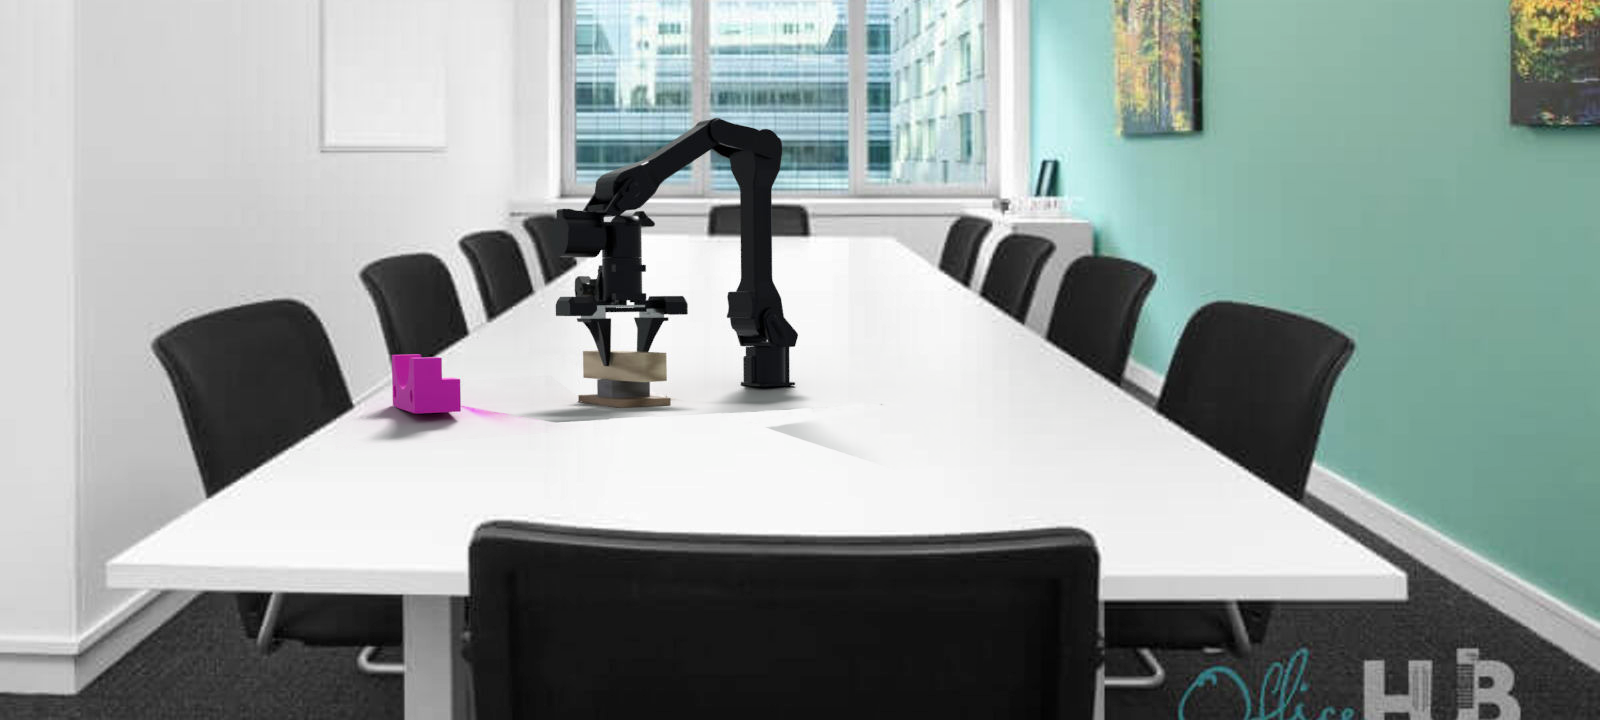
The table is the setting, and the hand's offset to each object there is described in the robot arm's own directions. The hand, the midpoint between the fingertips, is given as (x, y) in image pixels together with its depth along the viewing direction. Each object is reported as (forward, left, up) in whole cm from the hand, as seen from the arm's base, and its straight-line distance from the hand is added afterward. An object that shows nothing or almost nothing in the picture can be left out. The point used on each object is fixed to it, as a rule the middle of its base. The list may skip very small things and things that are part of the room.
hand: (623, 365), depth 196 cm
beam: (0, 0, -2) cm, 2 cm away
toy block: (+26, -11, -6) cm, 29 cm away
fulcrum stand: (0, 0, -6) cm, 6 cm away
